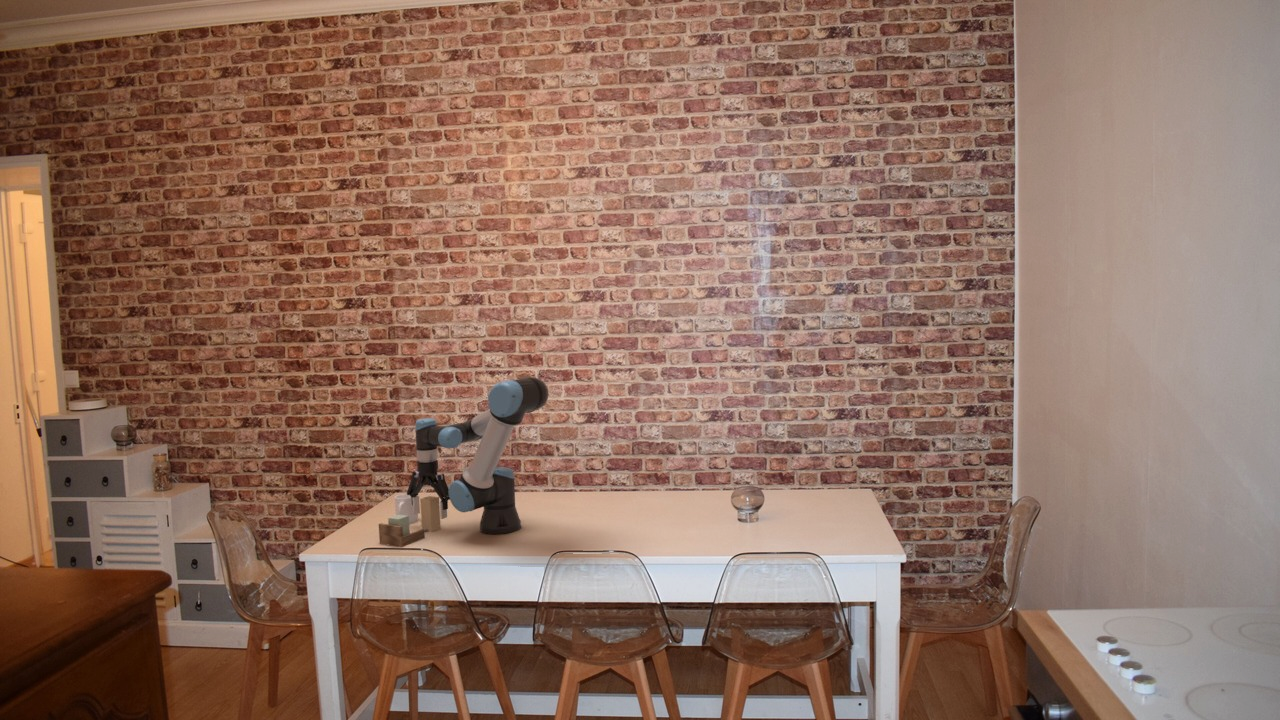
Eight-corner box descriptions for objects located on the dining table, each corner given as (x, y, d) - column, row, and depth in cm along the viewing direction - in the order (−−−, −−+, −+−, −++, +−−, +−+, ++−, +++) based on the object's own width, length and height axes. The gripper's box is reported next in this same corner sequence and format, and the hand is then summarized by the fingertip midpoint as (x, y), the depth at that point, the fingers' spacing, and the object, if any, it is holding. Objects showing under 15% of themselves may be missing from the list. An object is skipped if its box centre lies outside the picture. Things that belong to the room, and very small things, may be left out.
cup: (421, 518, 326) (419, 493, 325) (411, 527, 314) (409, 500, 313) (400, 518, 326) (399, 493, 326) (389, 527, 314) (388, 501, 314)
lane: (424, 537, 299) (423, 518, 299) (401, 546, 289) (400, 527, 289) (403, 534, 304) (402, 515, 304) (379, 543, 294) (378, 524, 294)
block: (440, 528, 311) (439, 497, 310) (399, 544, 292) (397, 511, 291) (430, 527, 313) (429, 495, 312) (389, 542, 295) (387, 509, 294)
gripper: (460, 460, 305) (462, 517, 307) (409, 455, 317) (412, 509, 319) (446, 465, 298) (448, 522, 300) (395, 459, 310) (398, 514, 312)
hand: (430, 516), depth 310 cm, fingers open, 13 cm apart
